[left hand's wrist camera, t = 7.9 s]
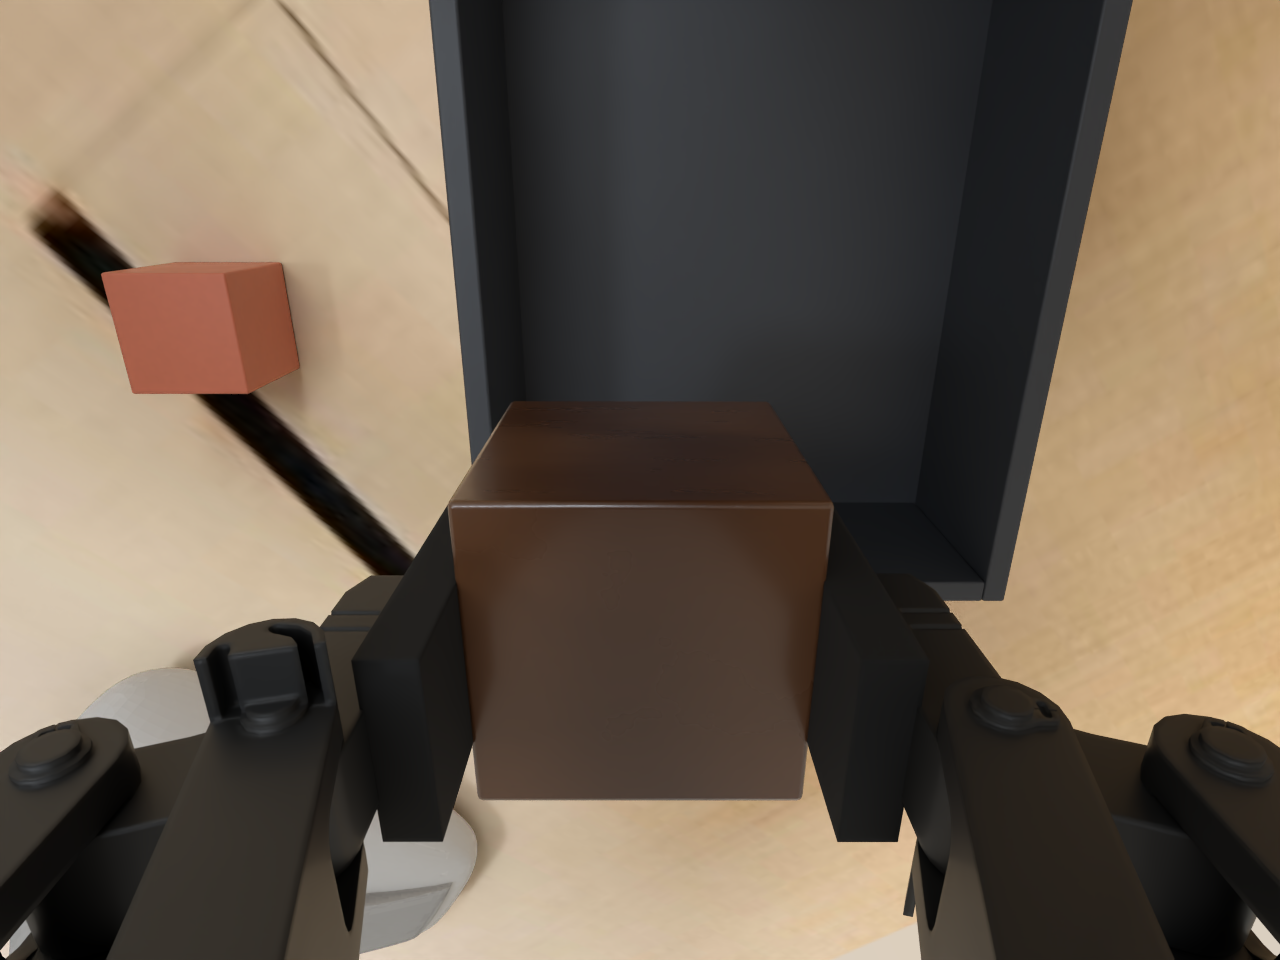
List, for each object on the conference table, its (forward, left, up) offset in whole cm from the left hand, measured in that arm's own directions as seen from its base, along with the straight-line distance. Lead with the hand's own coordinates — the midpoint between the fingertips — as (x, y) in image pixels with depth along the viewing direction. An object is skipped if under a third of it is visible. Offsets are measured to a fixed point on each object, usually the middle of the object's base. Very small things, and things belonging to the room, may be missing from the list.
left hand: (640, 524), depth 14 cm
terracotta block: (-19, +1, -22) cm, 29 cm away
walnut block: (0, 0, 0) cm, 0 cm away
